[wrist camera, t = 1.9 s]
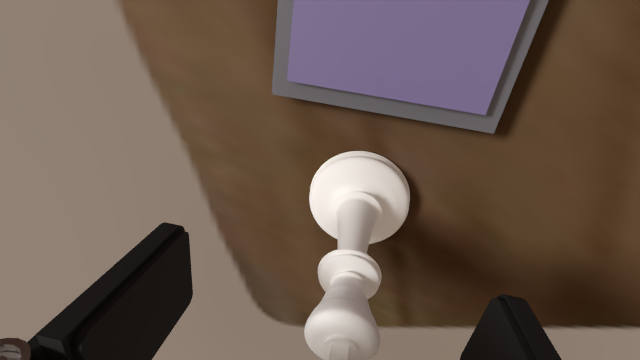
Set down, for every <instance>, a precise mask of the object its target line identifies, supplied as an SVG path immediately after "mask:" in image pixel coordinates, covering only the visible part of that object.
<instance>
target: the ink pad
mask: <svg viewBox="0 0 640 360" xmlns="http://www.w3.org/2000/svg"><path fill="white" fill-rule="evenodd" d="M548 1H549V0H278V9H277V24H276V39H275V54H274V69H273V84H272V94H274V95H279V96H285V97H291V98H296V99H302V100H307V101H313V102H319V103H324V104H330V105H335V106H341V107H347V108H352V109H358V110H363V111H369V112H375V113H380V114H386V115H391V116H397V117H403V118H408V119H414V120H419V121H425V122H431V123H436V124H442V125H447V126H453V127H459V128H464V129H470V130H475V131H481V132H487V133H492V134H494V132H495V130H496V127H497V125H498V122H499V120H500V117H501V115H502V113H503V110H504V108H505V105H506V103H507V100H508V98H509V96H510V93H511V91H512V88H513V86H514V83H515V81H516V79H517V76H518V74H519V71H520V69H521V66H522V64H523V62H524V59H525V57H526V54H527V52H528V49H529V47H530V45H531V42H532V40H533V37H534V35H535V32H536V30H537V28H538V25H539V23H540V20H541V18H542V15H543V13H544V10H545V8H546V6H547V3H548Z"/></svg>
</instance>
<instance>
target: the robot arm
mask: <svg viewBox="0 0 640 360" xmlns="http://www.w3.org/2000/svg"><path fill="white" fill-rule="evenodd" d="M190 261H191V260H190V245H189V234H188V232H185V230H184V228H183V226H179V225H175V224H169V223H162V224H161V225H159V226H158V227H157V228H156V229H155V230H154V231H152V232H151V233H150V234H149V235H148V236H147V237H146V238H145V239H143V240H142V241H141V242H140V243H139V244H138V245H137V246H135V247H134V248H133V249H132V250H131V251H130V252H129V253H128V254H126V255H125V256H124V257H123V258H122V259H121V260H120V261H118V262H117V263H116V264H115V265H114V266H113V267H112V268H111V269H110V270H108V271H107V272H106V273H105V274H104V275H103V276H101V277H100V278H99V279H98V280H97V281H96V282H95V283H93V284H92V285H91V286H90V287H89V288H88V289H87V290H86V291H84V292H83V293H82V294H81V295H80V296H79V297H78V298H76V299H75V300H74V301H73V302H72V303H71V304H70V305H69V306H67V307H66V308H65V309H64V310H63V311H62V312H61V313H60V314H58V315H57V316H56V317H55V318H54V319H53V320H52V321H51V322H49V323H48V324H47V325H46V326H45V327H44V328H43V329H41V330H40V331H39V332H38V333H37V334H36V335H35V336H34V337H33V338H32V339H30V340H29V341H28V342H26V341H24V340H21V339H19V338H3V339H0V360H152V358H153V357H154V355H155V354H156V352H157V351H158V349H159V348H160V346H161V345H162V344H163V342H164V341H165V339H166V338H167V336H168V335H169V333H170V332H171V330H172V329H173V328H174V326H175V325H176V323H177V322H178V320H179V319H180V317H181V316H182V314H183V313H184V311H185V310H186V308H187V307H188V305H189V304H190V302H191V299H192V295H193V291H192V277H191V276H192V275H191V262H190ZM460 360H561V358H560V356H559V355H558V353H557V351H556V350H555V348H554V346H553V345H552V343H551V341H550V340H549V338H548V336H547V335H546V333H545V331H544V330H543V328H542V326H541V325H540V323H539V321H538V320H537V318H536V316H535V314H534V313H533V311H532V309H531V308H530V306H529V304H528V303H527V302H526V300H524V299H523V298H518V297H513V296H509V295H504V294H501V295H499V296H498V297H497V298H493V299H492V300H491V301H490V303H489V305H488V306H487V308H486V310H485V312H484V314H483V316H482V317H481V319H480V321H479V323H478V325H477V327H476V328H475V330H474V332H473V334H472V336H471V338H470V340H469V342H468V343H467V345H466V347H465V349H464V351H463V352H462V354H461V358H460Z"/></svg>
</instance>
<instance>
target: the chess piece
mask: <svg viewBox="0 0 640 360" xmlns="http://www.w3.org/2000/svg"><path fill="white" fill-rule="evenodd" d="M309 201H310V208H311V211H312V214H313V216H314V218H315V220H316V221H317V223H318V224H319V226H320V227H321V228H322V229H323V230H324V231H325V232H327V233H328V234H329V235H331V236H332V237H334V238H336V239H338V250H334V251H332V252H330V253H328V254H327V255H325V256H324V257H323V258H322V260H321V261H320V263H319V266H318V277H319V282H320V284H321V286H322V288H323V289H324V290H325V292H326V293H325V295H324V297H323V299H322V300H321V302H320V303H319V305H318V306H317V307H316V308H315V309H314V310H313V312H312V313H311V315H310V316H309V318H308V320H307V322H306V325H305V329H304V334H305V339H306V342H307V344H308V346H309V347H310V349H311V350H312V351H313V352H314V353H315V354H316V355H317V356H319V357H320V358H322V359H323V360H370V359H371V358H372V357H373V356H374V355H375V354H376V353H377V351H378V349H379V345H380V336H379V331H378V328H377V325H376V322H375V319H374V317H373V315H372V313H371V311H370V308H369V304H368V300H367V299H369V298H370V297H372V296H373V295H374V294H375V293H376V292H377V290H378V288H379V286H380V283H381V278H382V275H381V270H380V268H379V266H378V264H377V263H376V261H375V260H374V259H373V258H372V257H370V256H369V255H367V249H368V245H369V244H372V243H376V242H379V241H382V240H384V239H386V238H388V237H390V236H391V235H393V234H394V233H395V232H396V231H397V230H398V229H399V228H400V227H401V226H402V224H403V223H404V221H405V219H406V217H407V214H408V210H409V203H410V190H409V186H408V183H407V180H406V178H405V176H404V175H403V173H402V172H401V171H400V169H399V168H398V167H397V166H396V165H395V164H394V163H392V162H391V161H390V160H388V159H386V158H385V157H383V156H380V155H378V154H375V153H371V152H366V151H351V152H345V153H342V154H339V155H336V156H334V157H332V158H331V159H329V160H328V161H326V162H325V163H324V164H323V165H322V166H321V167H320V168H319V169H318V171H317V172H316V174H315V176H314V178H313V180H312V183H311V188H310V196H309Z"/></svg>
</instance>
